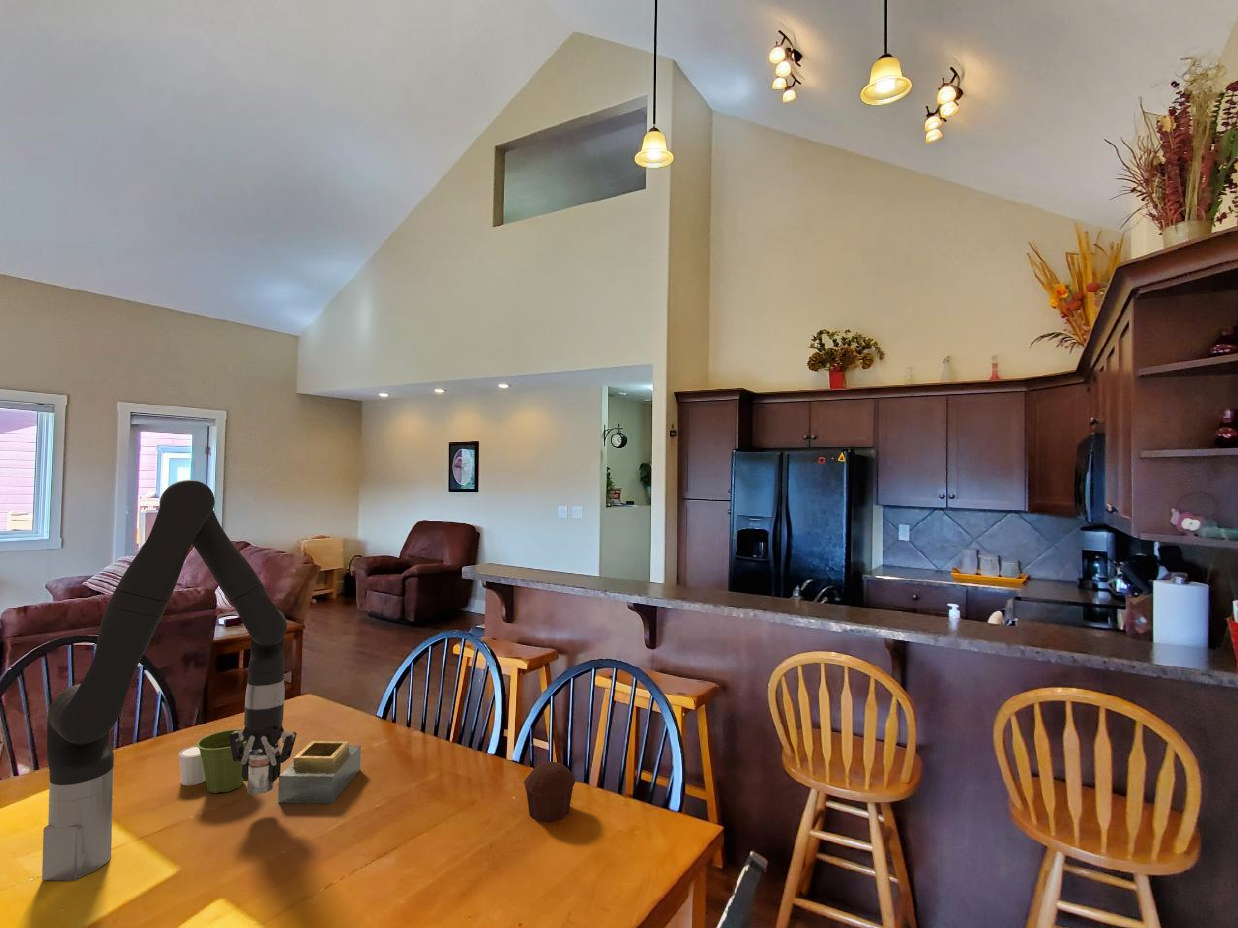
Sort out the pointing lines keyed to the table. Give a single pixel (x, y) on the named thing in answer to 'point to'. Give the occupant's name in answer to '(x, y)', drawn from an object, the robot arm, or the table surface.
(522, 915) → the table surface
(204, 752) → the plant pot
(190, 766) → the white cylinder
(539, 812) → the muffin
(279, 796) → the grey block with socket
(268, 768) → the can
